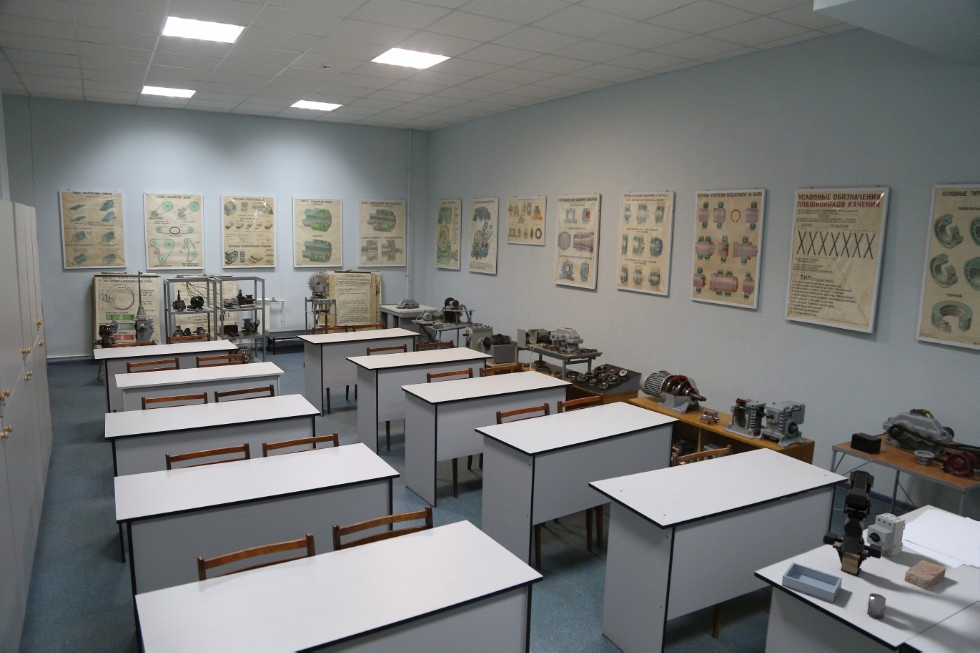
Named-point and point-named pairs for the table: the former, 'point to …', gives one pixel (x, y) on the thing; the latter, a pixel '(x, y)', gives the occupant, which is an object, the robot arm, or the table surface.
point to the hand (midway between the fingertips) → (849, 566)
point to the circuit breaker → (887, 533)
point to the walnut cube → (850, 562)
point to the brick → (924, 574)
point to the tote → (812, 582)
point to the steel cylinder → (876, 606)
